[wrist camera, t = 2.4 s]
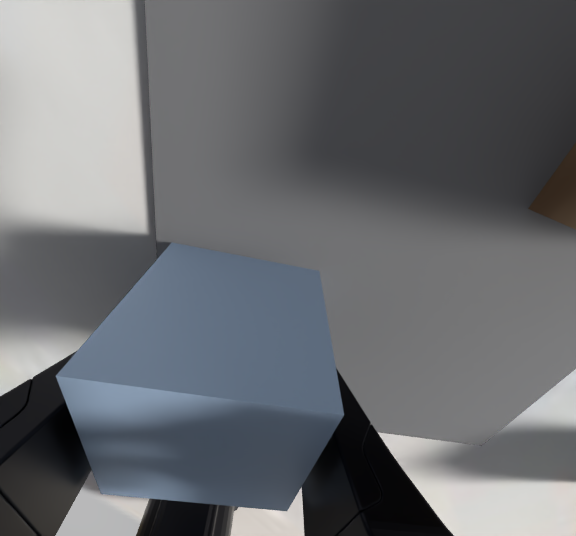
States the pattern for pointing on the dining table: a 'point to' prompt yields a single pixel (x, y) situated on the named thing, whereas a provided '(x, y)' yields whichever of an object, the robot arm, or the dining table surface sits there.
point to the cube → (208, 382)
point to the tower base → (559, 193)
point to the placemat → (384, 184)
